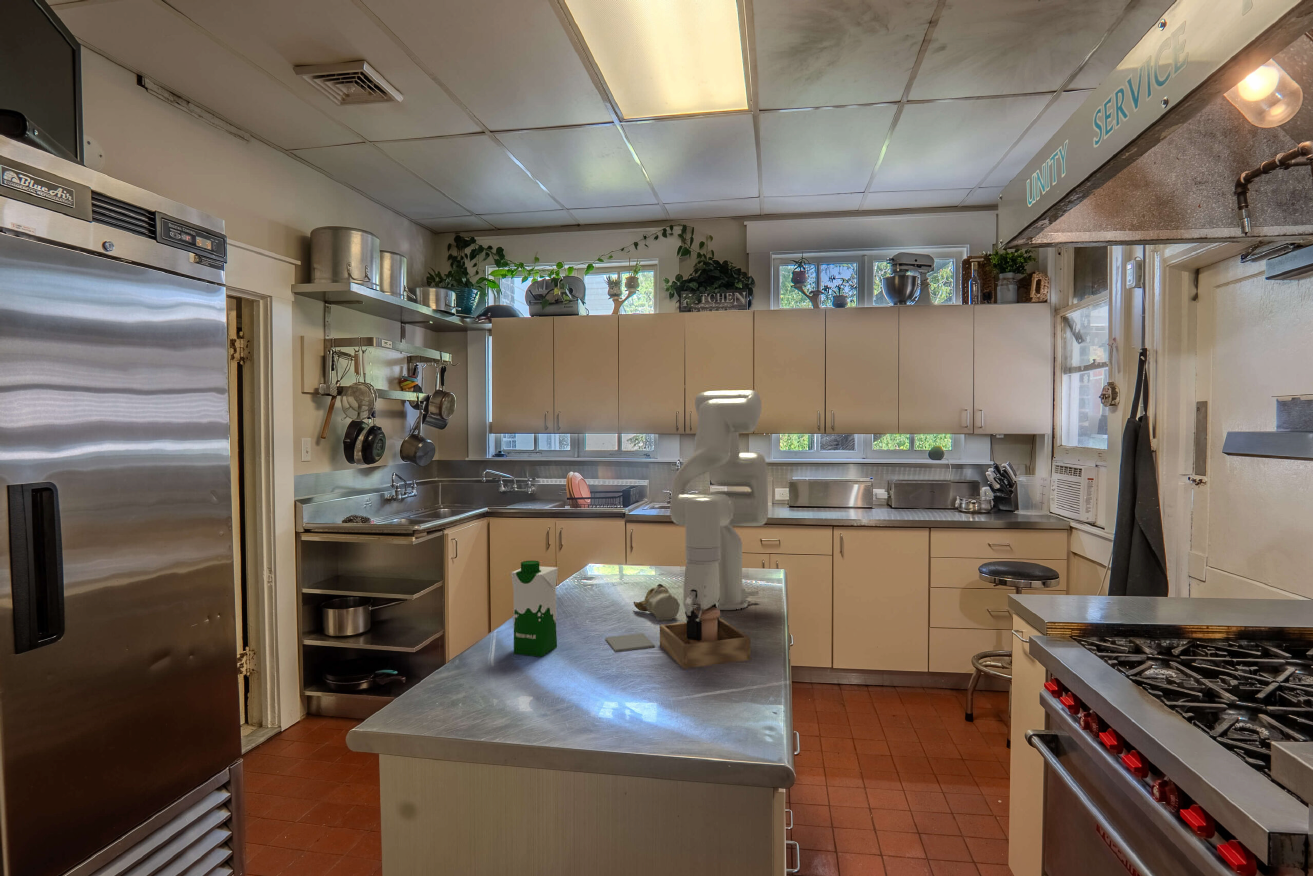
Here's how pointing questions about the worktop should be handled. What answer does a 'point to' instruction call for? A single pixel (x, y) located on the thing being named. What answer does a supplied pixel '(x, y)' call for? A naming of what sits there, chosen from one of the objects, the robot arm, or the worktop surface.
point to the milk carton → (534, 609)
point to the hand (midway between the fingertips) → (703, 633)
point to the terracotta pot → (708, 625)
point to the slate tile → (629, 642)
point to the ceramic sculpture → (659, 603)
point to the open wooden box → (705, 645)
